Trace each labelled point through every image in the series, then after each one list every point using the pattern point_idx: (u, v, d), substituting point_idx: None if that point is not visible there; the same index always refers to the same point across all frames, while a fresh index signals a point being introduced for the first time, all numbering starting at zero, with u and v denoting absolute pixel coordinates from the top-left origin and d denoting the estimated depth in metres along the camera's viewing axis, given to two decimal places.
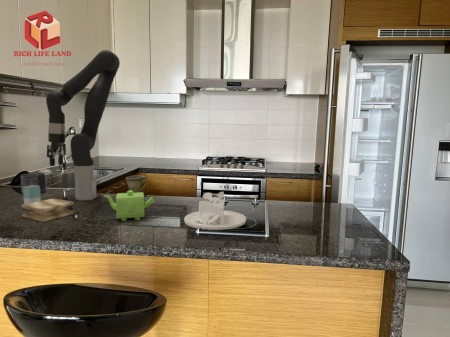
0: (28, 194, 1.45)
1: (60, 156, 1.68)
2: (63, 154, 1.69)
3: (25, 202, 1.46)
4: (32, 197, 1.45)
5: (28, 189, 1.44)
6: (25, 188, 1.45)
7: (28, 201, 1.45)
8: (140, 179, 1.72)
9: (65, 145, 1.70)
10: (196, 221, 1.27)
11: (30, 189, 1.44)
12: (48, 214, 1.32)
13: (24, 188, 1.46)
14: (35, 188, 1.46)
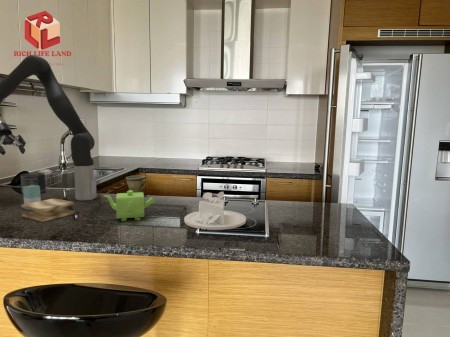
0: (28, 194, 1.45)
1: (19, 146, 1.55)
2: (20, 143, 1.55)
3: (25, 202, 1.46)
4: (32, 197, 1.45)
5: (28, 189, 1.44)
6: (25, 188, 1.45)
7: (28, 201, 1.45)
8: (140, 179, 1.72)
9: (19, 135, 1.58)
10: (196, 221, 1.27)
11: (30, 189, 1.44)
12: (48, 214, 1.32)
13: (24, 188, 1.46)
14: (35, 188, 1.46)
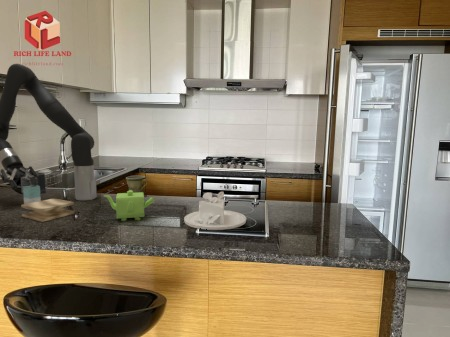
0: (28, 194, 1.45)
1: (30, 179, 1.54)
2: (31, 175, 1.54)
3: (25, 202, 1.46)
4: (32, 197, 1.45)
5: (28, 189, 1.44)
6: (25, 188, 1.45)
7: (28, 201, 1.45)
8: (140, 179, 1.72)
9: (30, 167, 1.56)
10: (196, 221, 1.27)
11: (30, 189, 1.44)
12: (48, 214, 1.32)
13: (24, 188, 1.46)
14: (35, 188, 1.46)
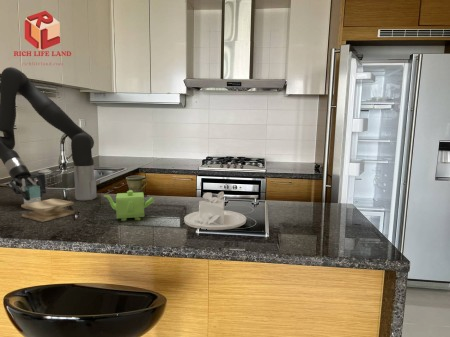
0: (28, 194, 1.45)
1: None
2: None
3: (25, 202, 1.46)
4: (32, 197, 1.45)
5: (28, 189, 1.44)
6: (25, 188, 1.45)
7: (28, 201, 1.45)
8: (140, 179, 1.72)
9: (39, 178, 1.54)
10: (196, 221, 1.27)
11: (30, 189, 1.44)
12: (48, 214, 1.32)
13: None
14: (35, 188, 1.46)
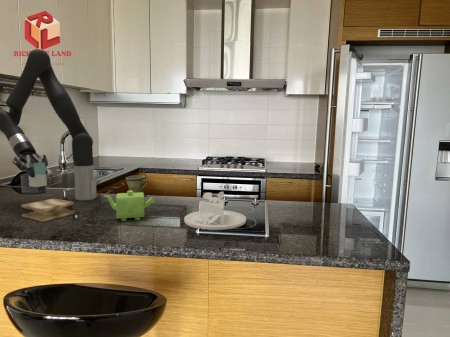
0: (33, 171, 1.38)
1: None
2: None
3: (30, 179, 1.39)
4: (37, 174, 1.38)
5: (33, 165, 1.37)
6: (30, 164, 1.38)
7: (33, 178, 1.38)
8: (140, 179, 1.72)
9: (44, 156, 1.47)
10: (196, 221, 1.27)
11: (35, 165, 1.37)
12: (48, 214, 1.32)
13: (29, 164, 1.39)
14: (40, 164, 1.39)
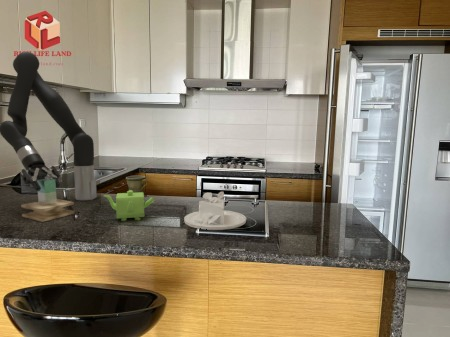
0: (43, 188, 1.32)
1: None
2: (54, 175, 1.39)
3: (39, 197, 1.34)
4: (47, 191, 1.33)
5: (43, 183, 1.32)
6: (40, 182, 1.33)
7: (43, 196, 1.33)
8: (140, 179, 1.72)
9: (53, 167, 1.42)
10: (196, 221, 1.27)
11: (45, 183, 1.32)
12: (48, 214, 1.32)
13: (38, 182, 1.33)
14: (50, 182, 1.34)
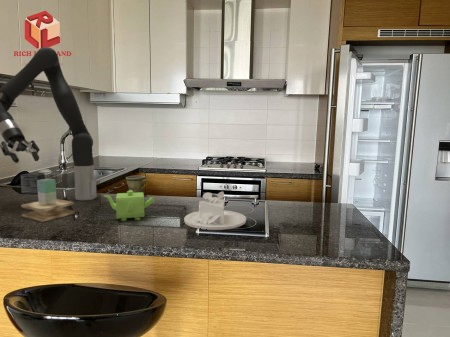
0: (43, 188, 1.32)
1: (32, 153, 1.45)
2: (34, 149, 1.45)
3: (39, 197, 1.34)
4: (47, 191, 1.33)
5: (43, 183, 1.32)
6: (40, 182, 1.33)
7: (43, 196, 1.33)
8: (140, 179, 1.72)
9: (33, 141, 1.47)
10: (196, 221, 1.27)
11: (45, 183, 1.32)
12: (48, 214, 1.32)
13: (38, 182, 1.33)
14: (50, 182, 1.34)
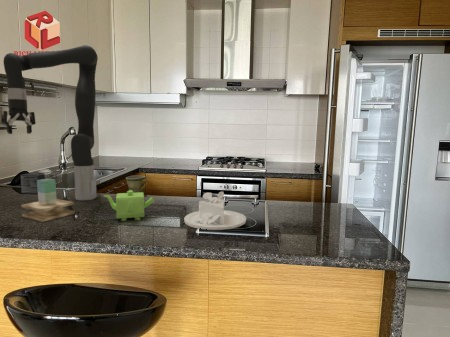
0: (43, 188, 1.32)
1: (27, 125, 1.58)
2: (30, 123, 1.57)
3: (39, 197, 1.34)
4: (47, 191, 1.33)
5: (43, 183, 1.32)
6: (40, 182, 1.33)
7: (43, 196, 1.33)
8: (140, 179, 1.72)
9: (33, 113, 1.58)
10: (196, 221, 1.27)
11: (45, 183, 1.32)
12: (48, 214, 1.32)
13: (38, 182, 1.33)
14: (50, 182, 1.34)
